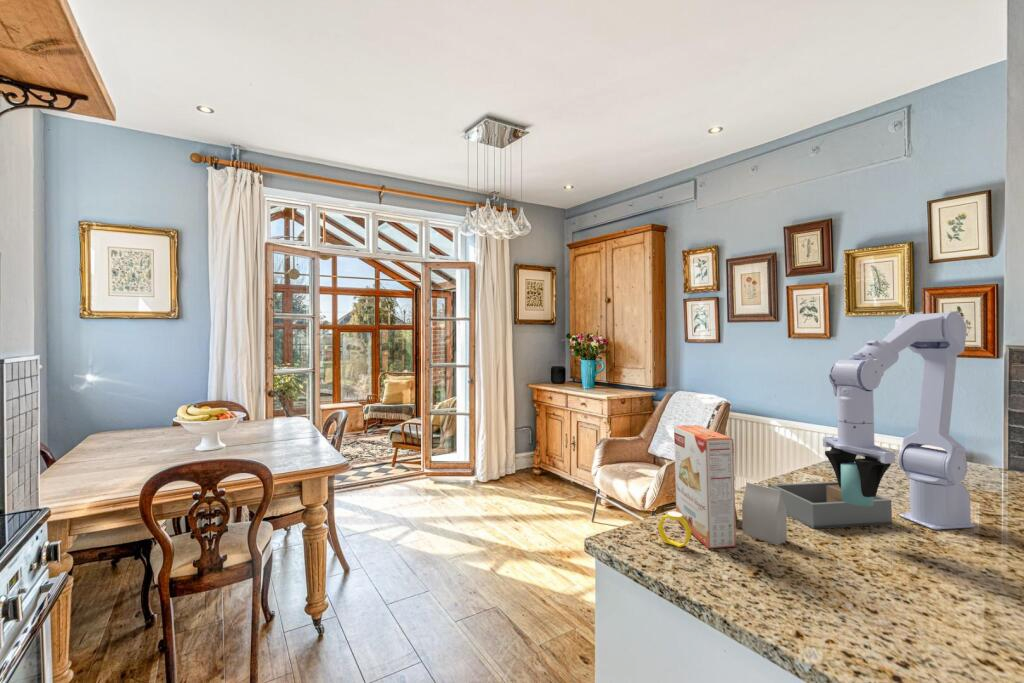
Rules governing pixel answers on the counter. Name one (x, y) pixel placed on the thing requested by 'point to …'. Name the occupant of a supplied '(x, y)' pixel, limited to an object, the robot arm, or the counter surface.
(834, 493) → the walnut cube
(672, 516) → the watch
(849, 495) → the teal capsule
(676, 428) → the cracker box
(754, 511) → the tea bag
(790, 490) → the tote
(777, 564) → the counter surface
